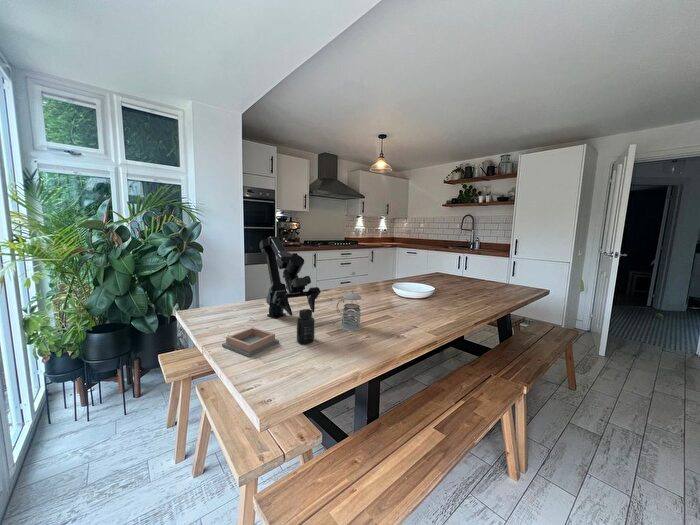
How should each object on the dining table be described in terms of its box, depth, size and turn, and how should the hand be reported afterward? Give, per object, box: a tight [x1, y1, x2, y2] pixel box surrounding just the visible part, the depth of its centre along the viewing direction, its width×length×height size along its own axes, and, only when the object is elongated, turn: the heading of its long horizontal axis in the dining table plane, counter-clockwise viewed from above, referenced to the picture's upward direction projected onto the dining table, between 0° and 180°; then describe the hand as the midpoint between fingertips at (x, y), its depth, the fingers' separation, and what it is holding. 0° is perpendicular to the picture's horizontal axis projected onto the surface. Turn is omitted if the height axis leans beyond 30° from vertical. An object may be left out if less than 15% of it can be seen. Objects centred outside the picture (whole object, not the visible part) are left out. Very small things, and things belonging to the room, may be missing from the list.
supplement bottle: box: [296, 308, 316, 345], centre depth 109 cm, size 7×7×12 cm
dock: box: [221, 326, 280, 358], centre depth 104 cm, size 14×14×4 cm
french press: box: [336, 271, 363, 332], centre depth 124 cm, size 10×12×25 cm
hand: (302, 313), depth 110 cm, fingers open, 9 cm apart
